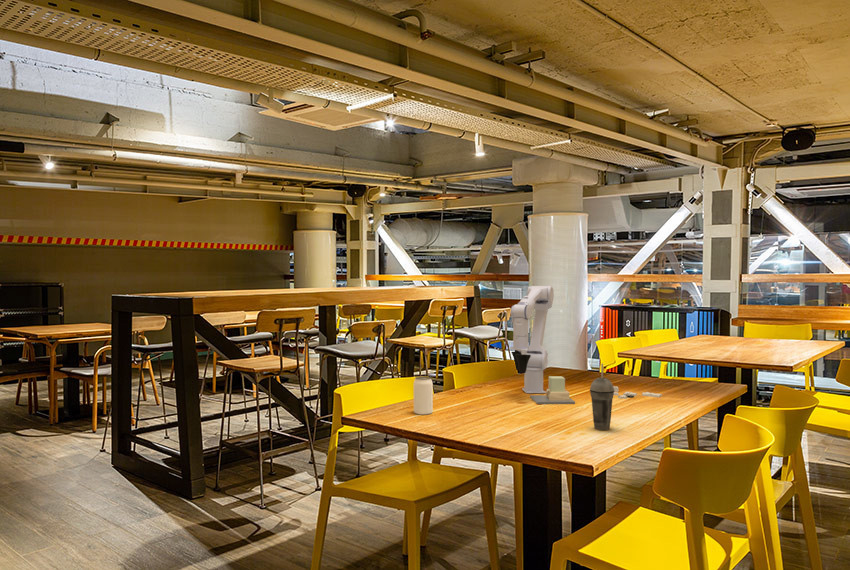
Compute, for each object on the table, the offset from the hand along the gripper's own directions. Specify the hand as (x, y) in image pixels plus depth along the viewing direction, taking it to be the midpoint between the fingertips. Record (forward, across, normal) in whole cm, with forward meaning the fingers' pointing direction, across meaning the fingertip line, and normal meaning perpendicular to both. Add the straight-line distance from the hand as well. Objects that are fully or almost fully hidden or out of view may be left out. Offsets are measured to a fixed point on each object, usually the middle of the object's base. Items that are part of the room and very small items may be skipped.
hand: (520, 371), depth 240 cm
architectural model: (+11, -4, +41) cm, 42 cm away
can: (+11, +25, -38) cm, 47 cm away
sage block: (+7, +5, +13) cm, 15 cm away
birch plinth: (+10, +5, +13) cm, 17 cm away
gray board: (+10, +4, +11) cm, 16 cm away
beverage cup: (+11, +49, +16) cm, 53 cm away
